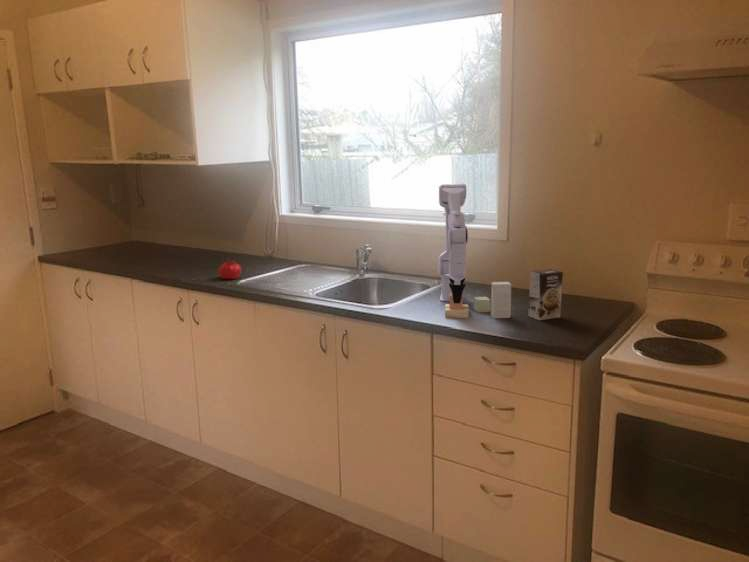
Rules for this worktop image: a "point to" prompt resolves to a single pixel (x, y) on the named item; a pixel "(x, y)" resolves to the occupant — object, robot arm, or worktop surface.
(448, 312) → the maple slab
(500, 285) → the skincare box
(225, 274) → the pomegranate
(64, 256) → the worktop surface
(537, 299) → the coffee box
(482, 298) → the sage cube
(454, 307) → the terracotta cube
